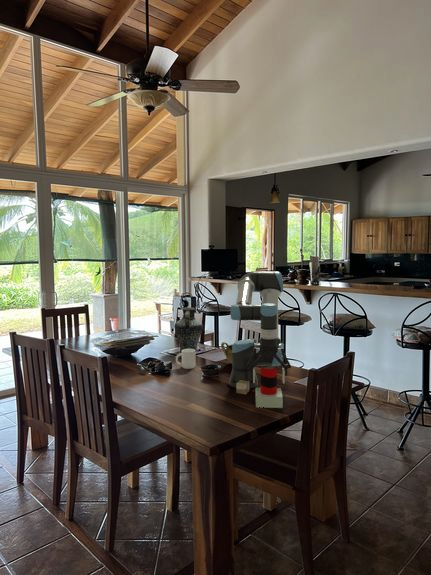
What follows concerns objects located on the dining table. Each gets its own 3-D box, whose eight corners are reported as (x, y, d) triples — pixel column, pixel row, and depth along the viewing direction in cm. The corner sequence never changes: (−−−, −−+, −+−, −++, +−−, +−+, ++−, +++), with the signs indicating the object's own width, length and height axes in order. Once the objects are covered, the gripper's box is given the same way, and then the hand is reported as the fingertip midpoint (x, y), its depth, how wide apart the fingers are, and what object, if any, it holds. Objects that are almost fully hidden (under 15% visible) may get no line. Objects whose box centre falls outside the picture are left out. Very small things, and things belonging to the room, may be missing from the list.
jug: (174, 348, 302) (173, 306, 299) (202, 347, 304) (201, 305, 301) (175, 355, 282) (174, 311, 278) (204, 354, 284) (203, 310, 280)
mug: (177, 370, 250) (176, 353, 249) (174, 366, 258) (174, 349, 257) (196, 368, 254) (196, 351, 253) (193, 364, 262) (193, 348, 260)
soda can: (263, 388, 203) (263, 364, 202) (278, 390, 200) (278, 365, 199) (258, 393, 196) (258, 368, 195) (274, 396, 193) (274, 370, 192)
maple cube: (245, 394, 210) (245, 384, 210) (236, 393, 212) (236, 383, 212) (249, 391, 215) (249, 381, 214) (240, 389, 217) (239, 380, 216)
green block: (255, 407, 193) (255, 396, 193) (255, 397, 205) (255, 387, 205) (282, 407, 192) (282, 397, 192) (280, 398, 204) (280, 388, 204)
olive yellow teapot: (249, 359, 272) (249, 335, 271) (261, 366, 257) (261, 341, 255) (217, 363, 264) (216, 339, 263) (227, 370, 249) (227, 345, 247)
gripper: (241, 339, 193) (241, 384, 195) (297, 339, 191) (296, 385, 193) (241, 335, 200) (241, 379, 203) (295, 335, 198) (295, 379, 201)
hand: (268, 382), depth 198 cm, fingers open, 13 cm apart
